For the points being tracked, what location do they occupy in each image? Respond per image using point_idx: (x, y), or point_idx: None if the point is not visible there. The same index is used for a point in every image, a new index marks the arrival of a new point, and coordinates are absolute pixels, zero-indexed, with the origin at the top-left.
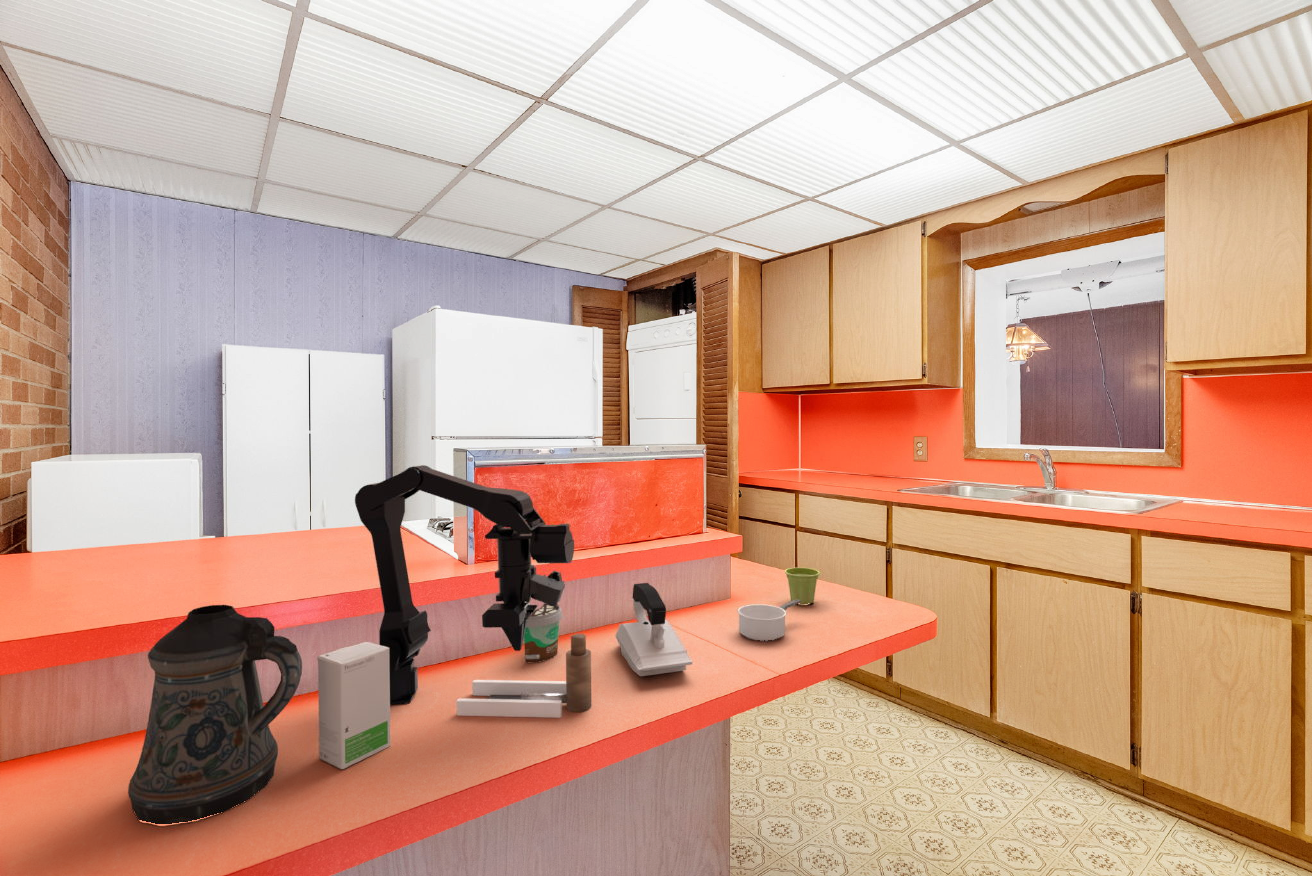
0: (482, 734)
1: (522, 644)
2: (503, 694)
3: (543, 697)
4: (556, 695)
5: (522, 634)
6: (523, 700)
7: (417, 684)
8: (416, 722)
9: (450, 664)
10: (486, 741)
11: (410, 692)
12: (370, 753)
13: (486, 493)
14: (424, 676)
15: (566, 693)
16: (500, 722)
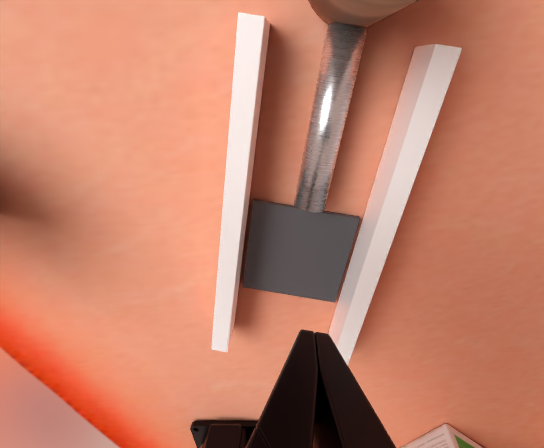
0: (463, 279)
1: (299, 344)
2: (242, 255)
3: (341, 130)
4: (347, 75)
5: (359, 430)
6: (389, 203)
7: (211, 433)
8: None
9: (63, 381)
10: (507, 266)
11: (244, 436)
12: (476, 446)
13: None
14: (135, 414)
15: (375, 21)
16: (408, 244)
